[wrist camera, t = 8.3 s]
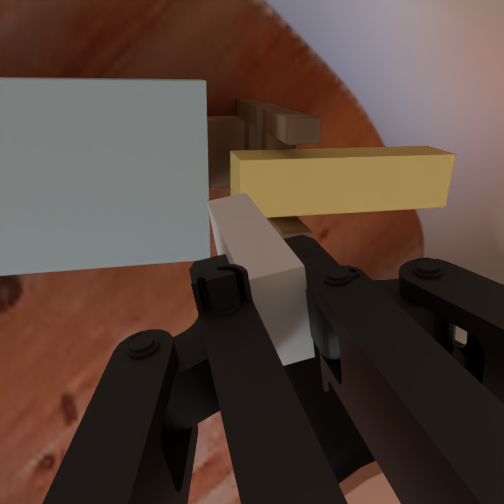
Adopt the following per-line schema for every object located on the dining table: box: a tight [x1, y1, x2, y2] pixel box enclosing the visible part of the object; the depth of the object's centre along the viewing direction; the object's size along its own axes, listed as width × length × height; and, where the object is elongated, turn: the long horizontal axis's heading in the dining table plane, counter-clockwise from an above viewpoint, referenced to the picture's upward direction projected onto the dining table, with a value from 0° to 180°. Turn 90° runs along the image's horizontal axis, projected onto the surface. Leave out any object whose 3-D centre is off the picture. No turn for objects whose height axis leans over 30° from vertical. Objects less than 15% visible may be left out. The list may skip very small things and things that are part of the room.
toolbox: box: [207, 99, 321, 239], centre depth 26 cm, size 21×7×13 cm, turn 89°
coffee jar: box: [284, 341, 401, 504], centre depth 34 cm, size 11×11×18 cm
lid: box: [0, 77, 210, 276], centre depth 24 cm, size 16×10×4 cm, turn 89°
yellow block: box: [230, 146, 456, 218], centre depth 24 cm, size 12×3×3 cm, turn 89°
